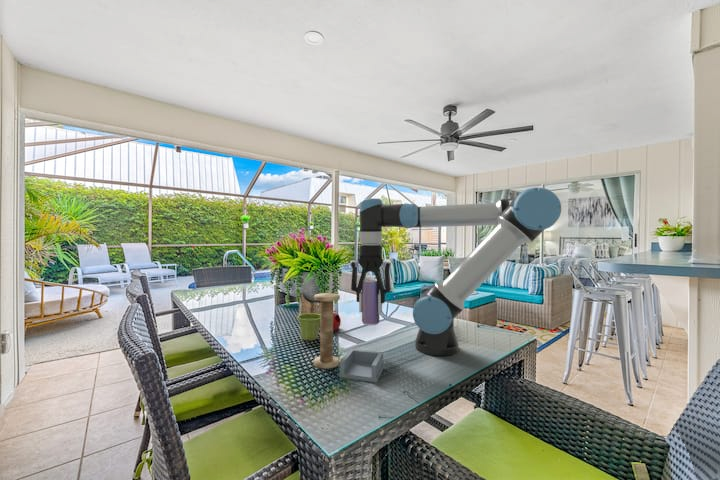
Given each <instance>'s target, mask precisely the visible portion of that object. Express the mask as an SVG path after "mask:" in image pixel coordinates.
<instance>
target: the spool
mask: <svg viewBox="0 0 720 480" xmlns="http://www.w3.org/2000/svg"><path fill="white" fill-rule="evenodd" d="M340 298H341V295H340V294H338V293H334V292H333V293H332V292H325V293H324V292H323V293H317V294H314V296H313V299H314V300H315V301H317V302H320V315H321V316H320V327H319V330H320V332H319V333H320V335H319V336H320V339H319V340H320V341H319V343H320V344H319V349H320V351H319V356H317V357H315V358H313V365H314V367H316V368H317V369H320V370H321V369H323V370H328V369H329V370H330V369H333V368H334V369H335V368H336V367H338V366H340V358H339V357H338V356H335V355H334V331H333V313H334V312H333V311H334V302H336V301H339V300H340Z"/></svg>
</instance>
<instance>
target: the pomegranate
mask: <svg viewBox="0 0 720 480" xmlns="http://www.w3.org/2000/svg"><path fill="white" fill-rule="evenodd" d="M341 319H342V318H341V317H340V315H339V314H338V313H337V310H333V332H334V331H337V330H338V329H339V328H340V327H341V324H342V323H341V322H342V321H341ZM319 328H320V325H319Z"/></svg>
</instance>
